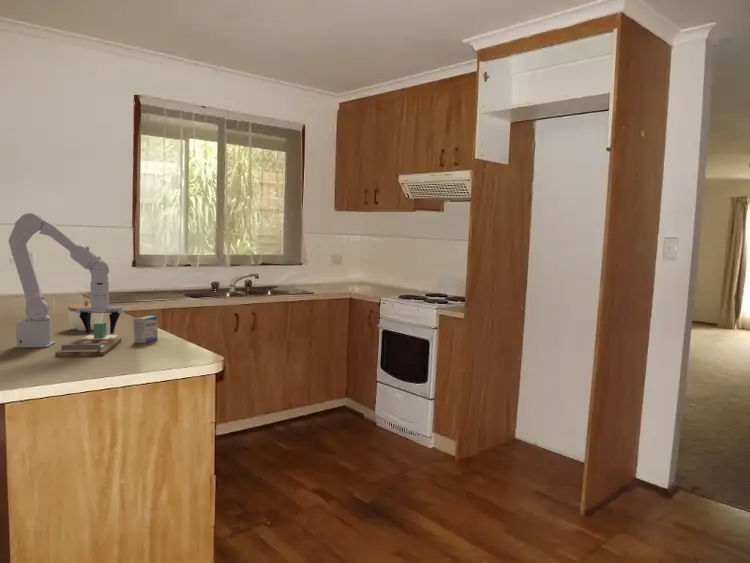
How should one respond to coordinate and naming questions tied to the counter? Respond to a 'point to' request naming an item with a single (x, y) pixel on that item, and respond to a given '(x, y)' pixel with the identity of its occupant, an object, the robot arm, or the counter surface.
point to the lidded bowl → (77, 320)
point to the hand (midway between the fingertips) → (100, 333)
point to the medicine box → (145, 329)
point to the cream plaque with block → (100, 333)
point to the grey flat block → (82, 347)
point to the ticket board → (108, 343)
